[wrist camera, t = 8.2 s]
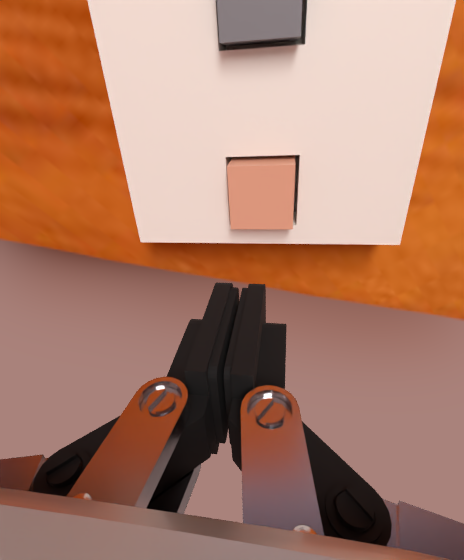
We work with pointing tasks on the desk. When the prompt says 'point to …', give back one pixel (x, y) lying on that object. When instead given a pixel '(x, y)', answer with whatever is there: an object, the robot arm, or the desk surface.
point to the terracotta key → (261, 192)
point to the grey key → (258, 21)
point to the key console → (272, 114)
